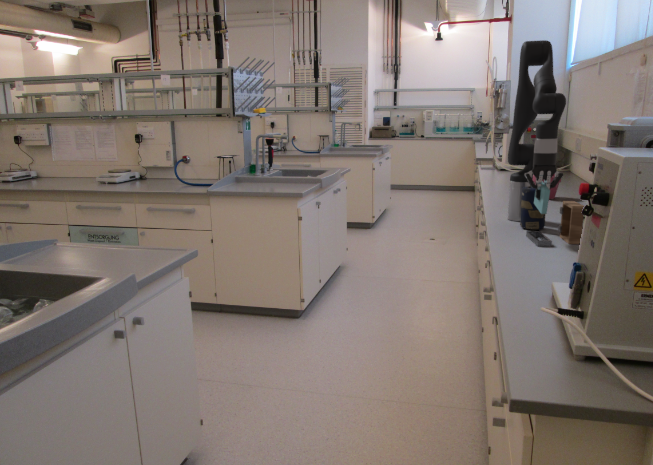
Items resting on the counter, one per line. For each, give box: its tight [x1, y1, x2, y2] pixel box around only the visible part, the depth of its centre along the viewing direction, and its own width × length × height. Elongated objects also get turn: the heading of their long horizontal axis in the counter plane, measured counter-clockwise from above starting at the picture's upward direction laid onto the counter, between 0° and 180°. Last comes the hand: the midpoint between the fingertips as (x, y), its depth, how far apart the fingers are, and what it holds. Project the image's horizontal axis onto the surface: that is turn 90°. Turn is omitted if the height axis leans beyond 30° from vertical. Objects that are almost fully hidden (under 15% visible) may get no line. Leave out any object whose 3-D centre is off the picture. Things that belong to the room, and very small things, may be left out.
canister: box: [519, 186, 547, 231], centre depth 200 cm, size 10×10×18 cm
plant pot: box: [533, 174, 562, 200], centre depth 267 cm, size 14×14×13 cm
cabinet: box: [557, 200, 585, 245], centre depth 181 cm, size 10×5×14 cm, turn 173°
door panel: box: [534, 181, 550, 215], centre depth 179 cm, size 10×2×9 cm, turn 174°
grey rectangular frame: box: [525, 230, 553, 247], centre depth 182 cm, size 15×5×2 cm, turn 173°
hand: (541, 199), depth 179 cm, fingers closed on door panel, 1 cm apart
